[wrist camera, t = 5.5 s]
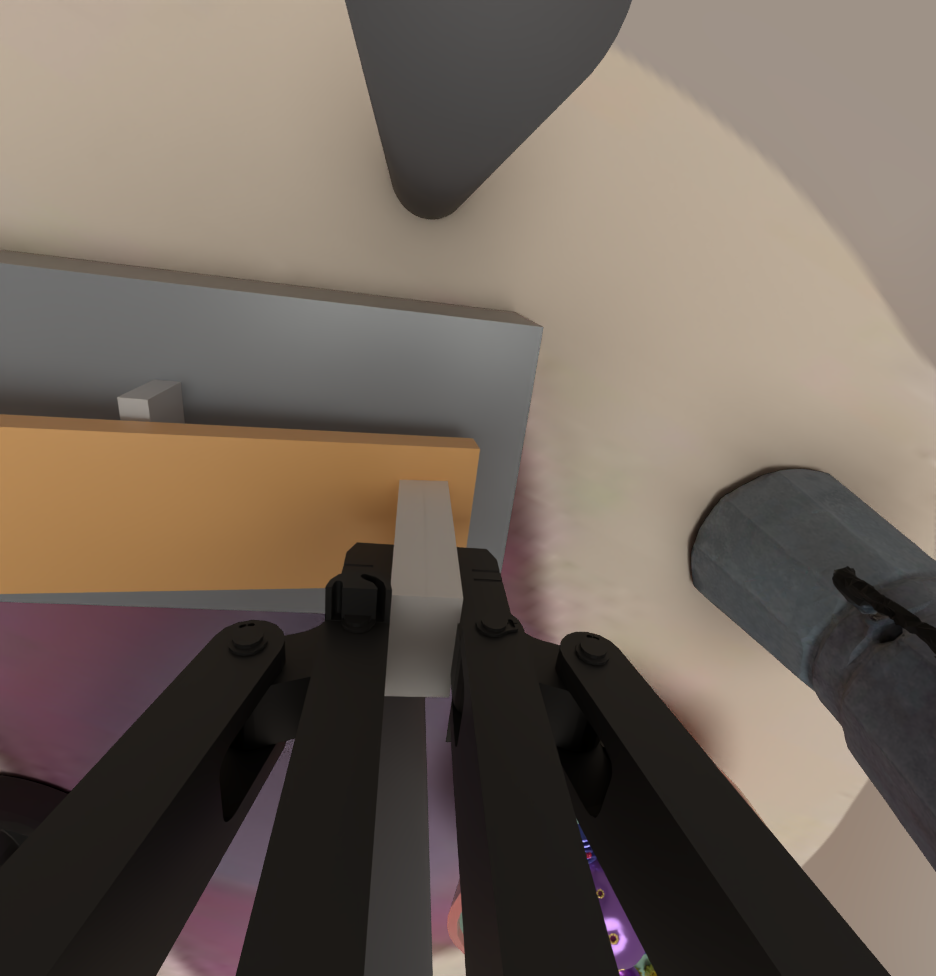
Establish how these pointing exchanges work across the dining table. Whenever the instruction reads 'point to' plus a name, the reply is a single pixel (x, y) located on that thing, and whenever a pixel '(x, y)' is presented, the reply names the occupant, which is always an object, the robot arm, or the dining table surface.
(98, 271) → the block
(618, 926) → the cell model
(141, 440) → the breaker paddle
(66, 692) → the dining table surface
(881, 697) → the moka pot
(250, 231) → the dining table surface
